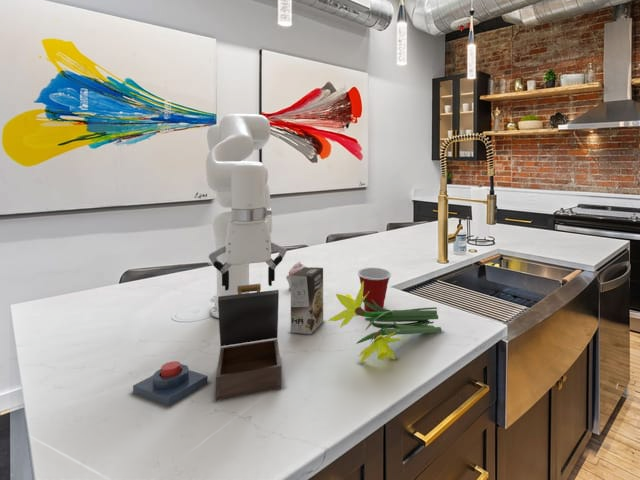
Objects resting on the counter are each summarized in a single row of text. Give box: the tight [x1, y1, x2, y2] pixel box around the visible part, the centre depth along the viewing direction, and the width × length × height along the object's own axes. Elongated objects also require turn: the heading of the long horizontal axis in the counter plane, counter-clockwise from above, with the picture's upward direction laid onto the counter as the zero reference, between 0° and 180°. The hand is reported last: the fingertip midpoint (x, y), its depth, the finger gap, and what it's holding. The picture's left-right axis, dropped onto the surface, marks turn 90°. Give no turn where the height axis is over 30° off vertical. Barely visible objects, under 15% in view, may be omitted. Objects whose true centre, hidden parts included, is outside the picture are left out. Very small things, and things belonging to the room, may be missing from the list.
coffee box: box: [290, 266, 324, 335], centre depth 116 cm, size 9×6×16 cm
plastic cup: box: [357, 267, 392, 312], centre depth 130 cm, size 11×11×12 cm
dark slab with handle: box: [218, 283, 280, 347], centre depth 95 cm, size 14×13×6 cm
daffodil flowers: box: [327, 281, 442, 364], centre depth 102 cm, size 17×15×35 cm
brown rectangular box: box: [215, 338, 282, 402], centre depth 89 cm, size 14×13×5 cm
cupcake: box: [285, 261, 307, 291], centre depth 150 cm, size 9×9×10 cm
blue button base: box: [132, 363, 209, 407], centre depth 85 cm, size 11×9×4 cm
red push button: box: [160, 360, 182, 378], centre depth 85 cm, size 4×4×2 cm
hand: (248, 286), depth 97 cm, fingers open, 9 cm apart
